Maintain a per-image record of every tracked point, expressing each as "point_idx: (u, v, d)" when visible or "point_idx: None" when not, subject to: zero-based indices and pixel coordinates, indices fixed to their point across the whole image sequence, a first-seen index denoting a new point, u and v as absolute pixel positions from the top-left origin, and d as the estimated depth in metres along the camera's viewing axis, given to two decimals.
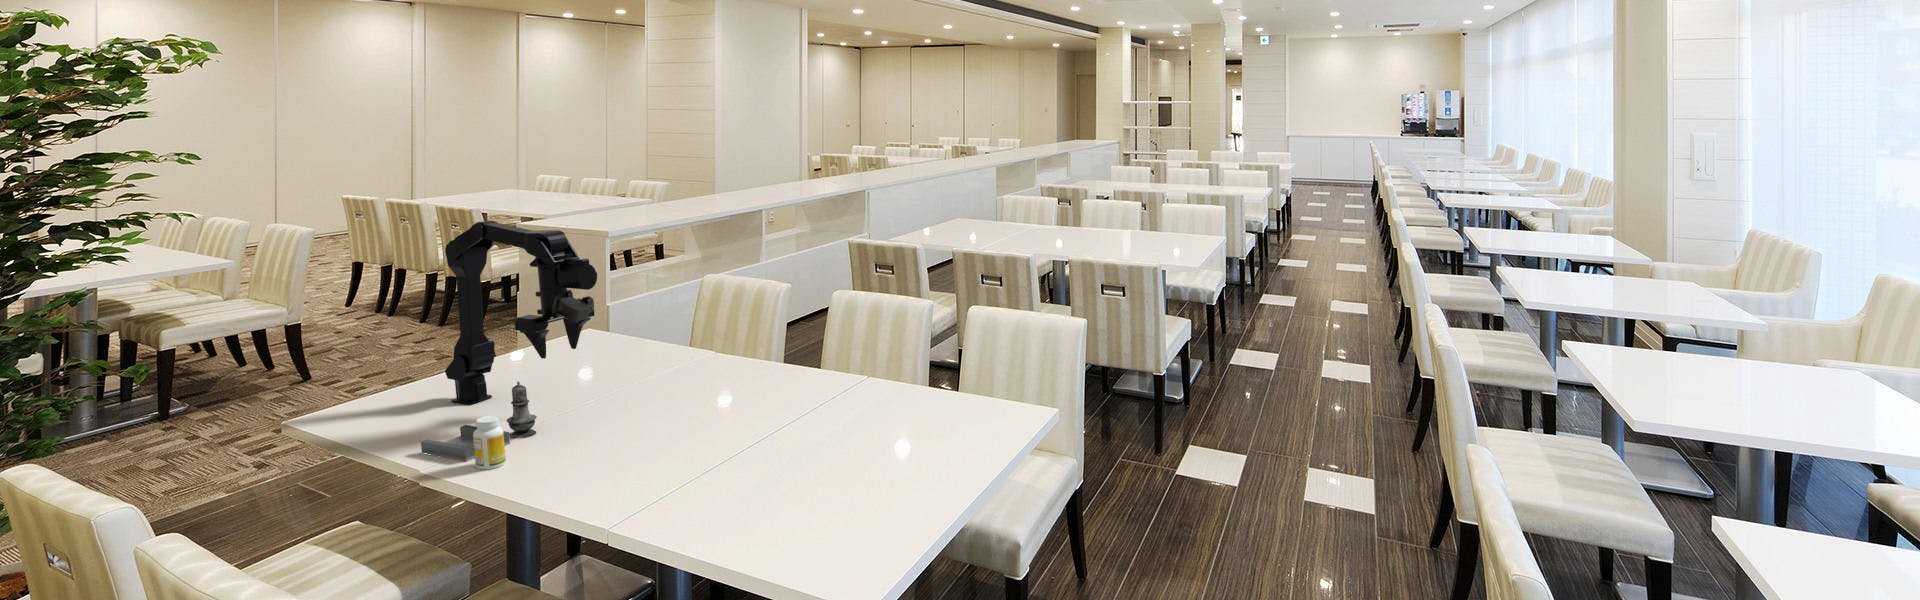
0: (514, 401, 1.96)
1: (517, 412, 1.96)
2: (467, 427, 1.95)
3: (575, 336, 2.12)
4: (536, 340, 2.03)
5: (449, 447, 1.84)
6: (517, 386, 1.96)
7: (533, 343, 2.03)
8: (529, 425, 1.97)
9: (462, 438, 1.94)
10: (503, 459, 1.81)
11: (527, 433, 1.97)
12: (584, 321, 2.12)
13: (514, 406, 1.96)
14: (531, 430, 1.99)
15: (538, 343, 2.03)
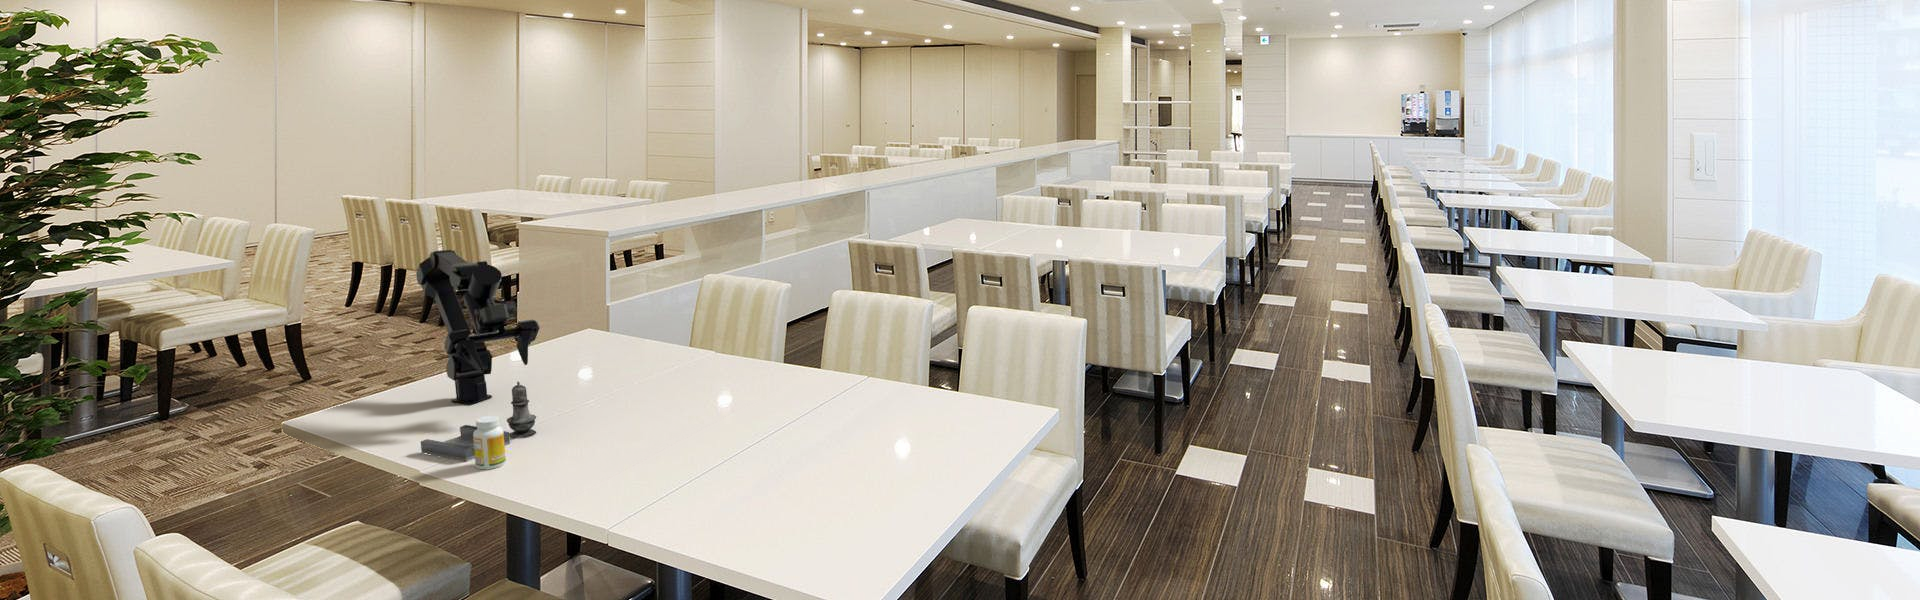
0: (514, 401, 1.96)
1: (517, 412, 1.96)
2: (467, 427, 1.95)
3: (522, 351, 2.05)
4: (470, 357, 1.99)
5: (449, 447, 1.84)
6: (517, 386, 1.96)
7: (470, 362, 1.99)
8: (529, 425, 1.97)
9: (462, 438, 1.94)
10: (503, 459, 1.81)
11: (527, 433, 1.97)
12: (525, 332, 2.06)
13: (514, 406, 1.96)
14: (531, 430, 1.99)
15: (471, 358, 1.99)
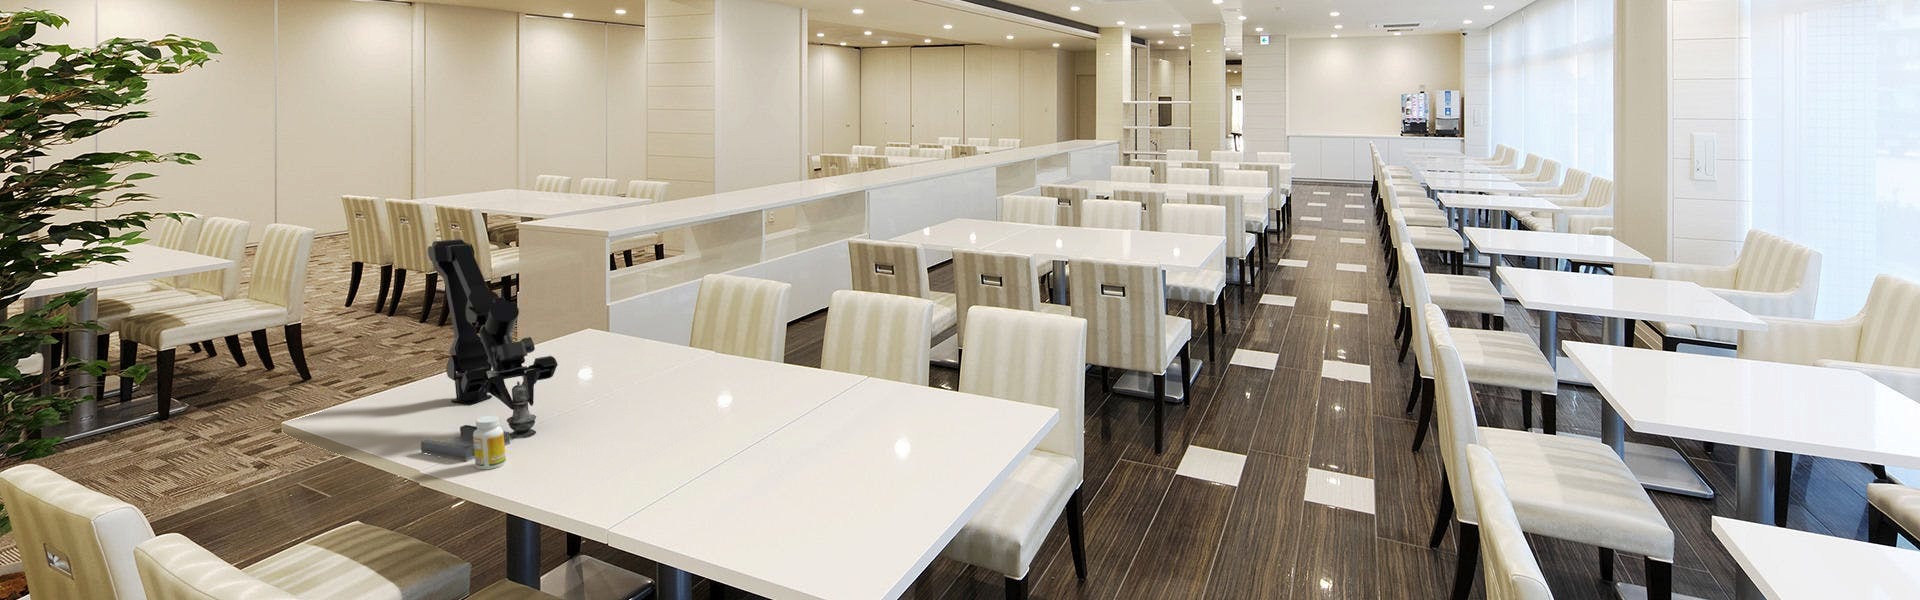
0: (514, 401, 1.96)
1: (517, 412, 1.96)
2: (467, 427, 1.95)
3: (528, 391, 1.98)
4: (500, 393, 1.96)
5: (449, 447, 1.84)
6: (517, 386, 1.96)
7: (500, 398, 1.96)
8: (529, 425, 1.97)
9: (462, 438, 1.94)
10: (503, 459, 1.81)
11: (527, 433, 1.97)
12: (530, 372, 1.99)
13: (514, 406, 1.96)
14: (531, 430, 1.99)
15: (501, 394, 1.95)
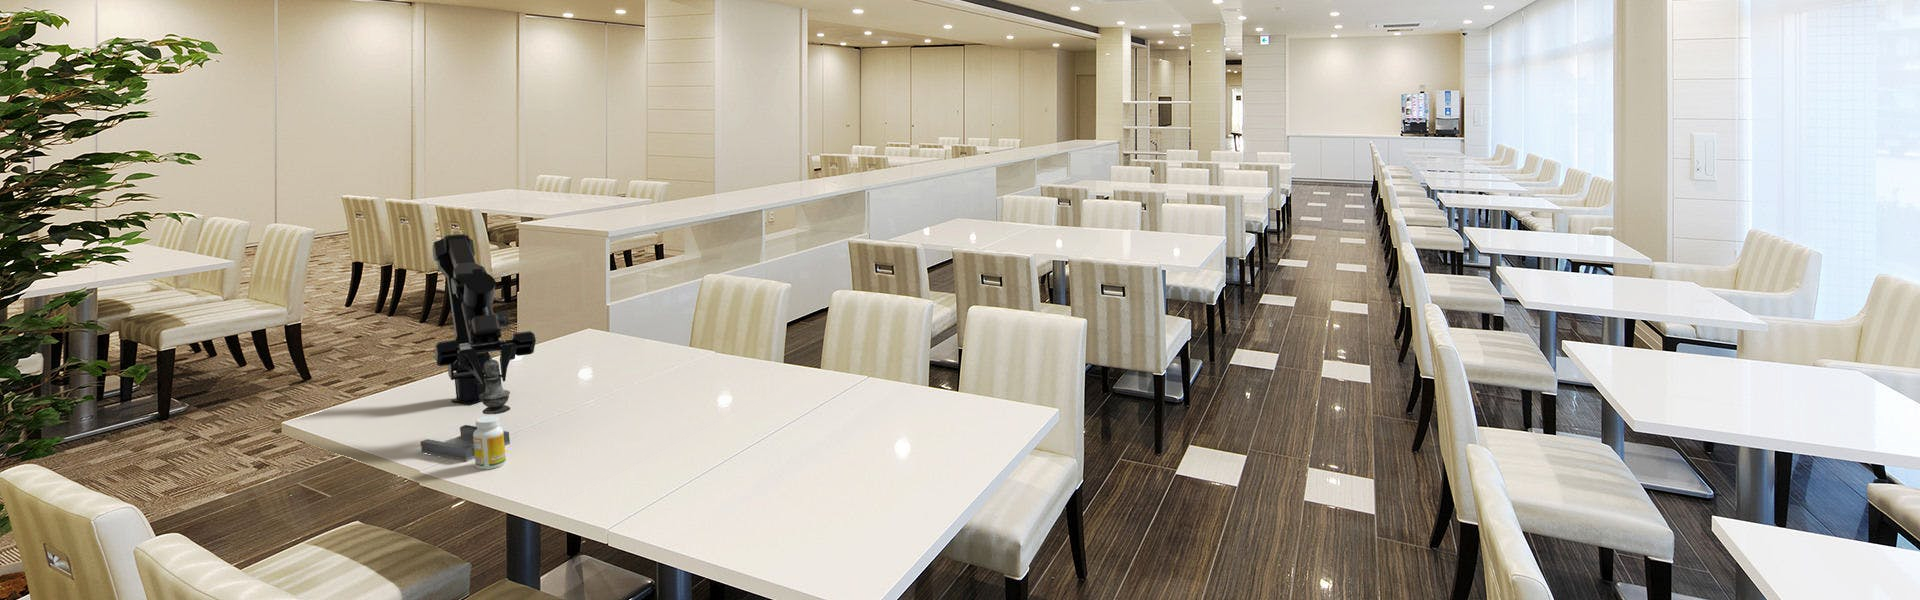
0: (486, 376, 1.90)
1: (489, 387, 1.90)
2: (467, 427, 1.95)
3: (501, 366, 1.92)
4: (473, 367, 1.91)
5: (449, 447, 1.84)
6: (489, 361, 1.90)
7: (473, 372, 1.91)
8: (500, 401, 1.91)
9: (462, 438, 1.94)
10: (503, 459, 1.81)
11: (499, 409, 1.92)
12: (505, 346, 1.93)
13: (486, 381, 1.90)
14: (505, 406, 1.94)
15: (474, 368, 1.90)
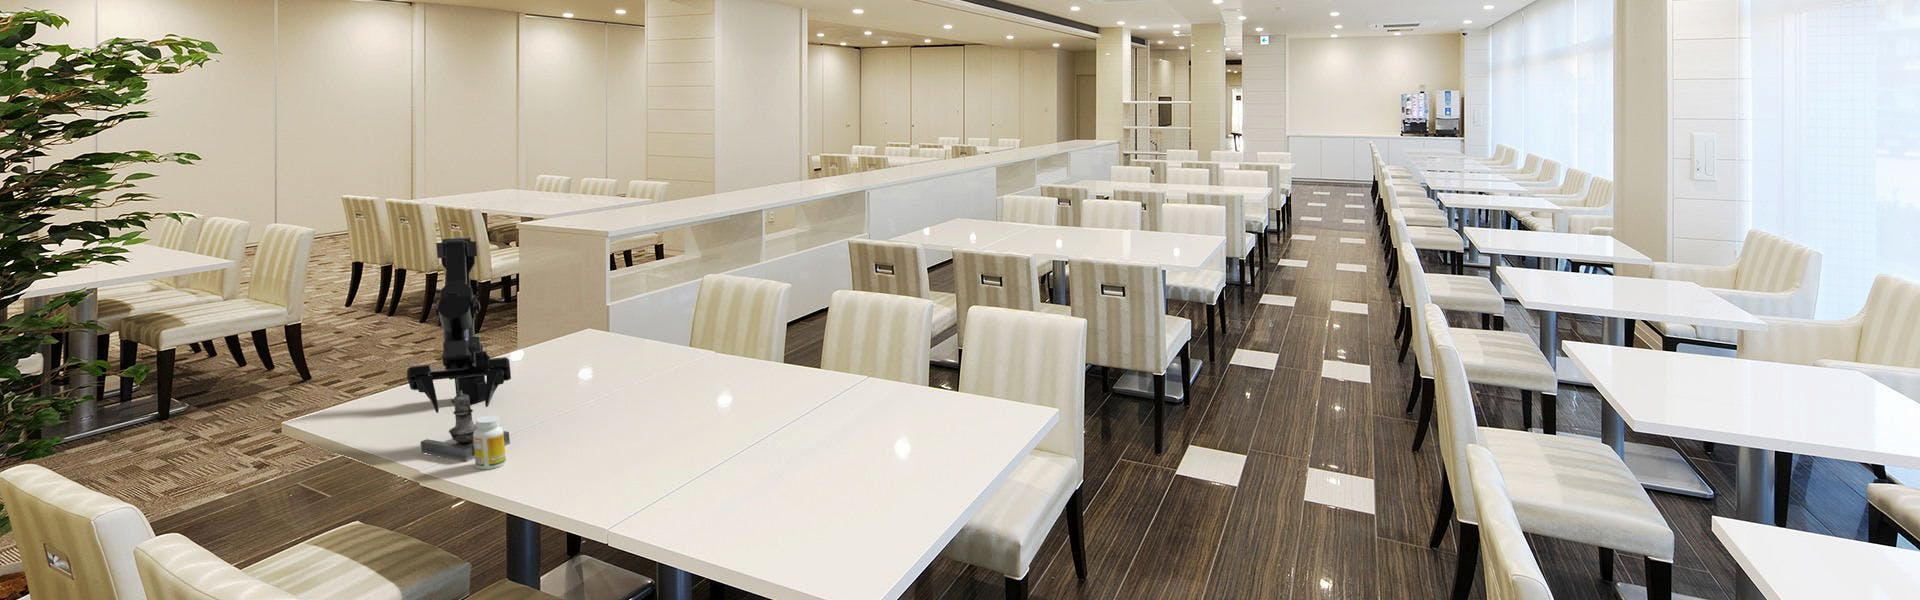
0: (455, 410, 1.87)
1: (458, 422, 1.87)
2: None
3: (485, 391, 1.89)
4: None
5: (449, 447, 1.84)
6: (459, 395, 1.87)
7: (430, 399, 1.87)
8: (468, 436, 1.87)
9: None
10: (503, 459, 1.81)
11: (468, 445, 1.88)
12: (490, 371, 1.90)
13: (455, 416, 1.87)
14: None
15: None
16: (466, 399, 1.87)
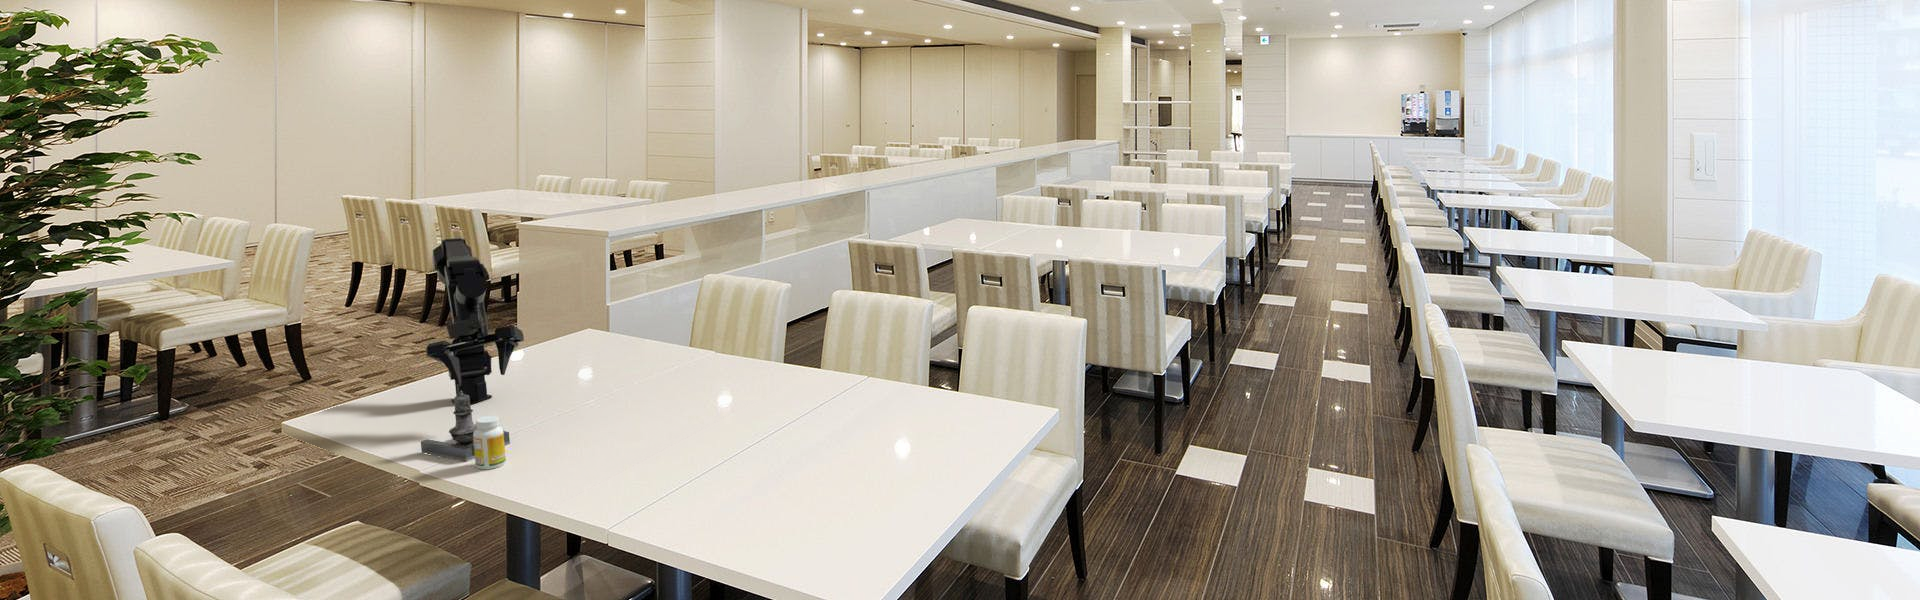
0: (455, 410, 1.87)
1: (458, 422, 1.87)
2: None
3: None
4: None
5: (449, 447, 1.84)
6: (459, 395, 1.87)
7: None
8: (468, 437, 1.87)
9: None
10: (503, 459, 1.81)
11: (468, 445, 1.88)
12: (498, 342, 1.99)
13: (455, 416, 1.87)
14: None
15: None
16: (466, 399, 1.87)
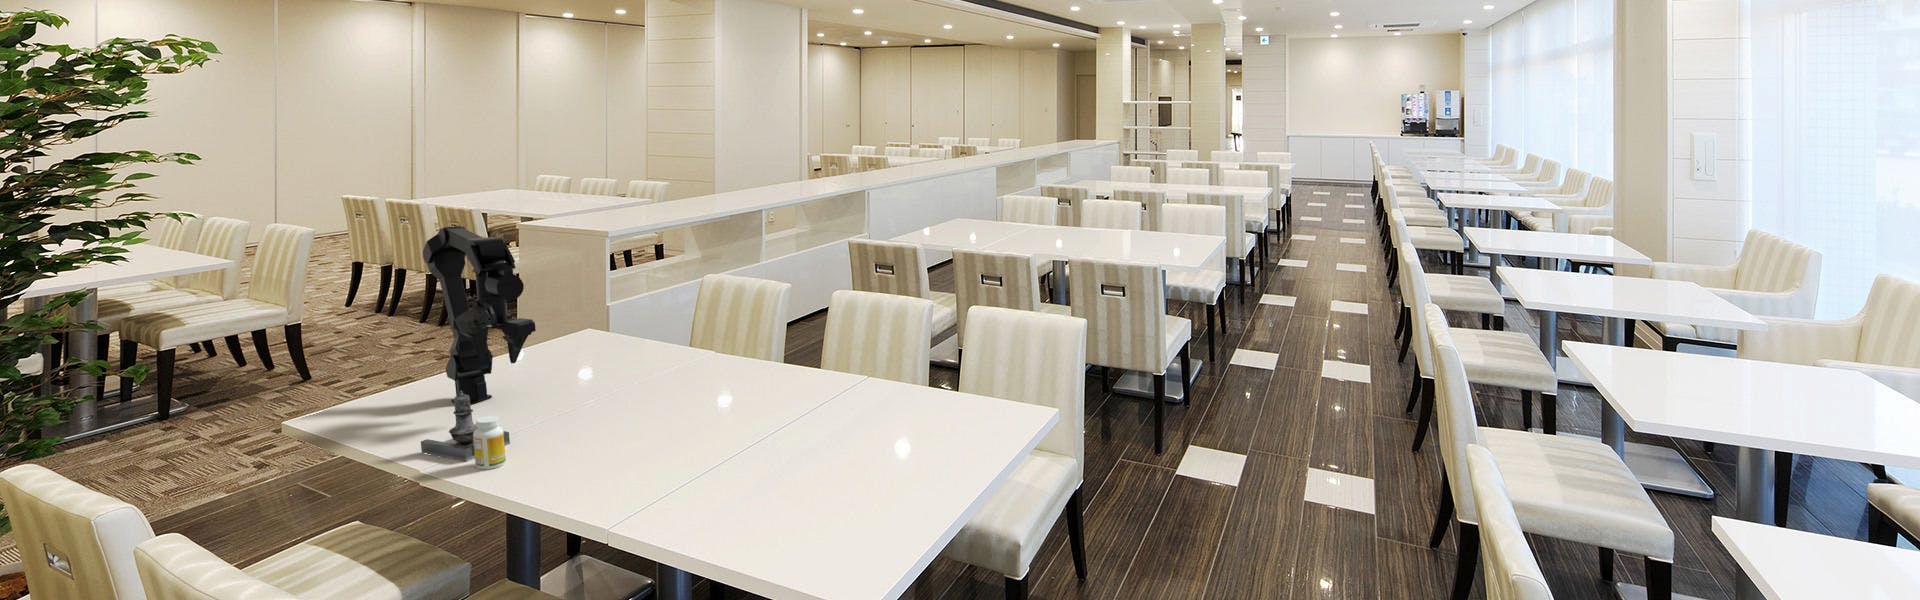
0: (455, 410, 1.87)
1: (458, 422, 1.87)
2: None
3: None
4: None
5: (449, 447, 1.84)
6: (459, 395, 1.87)
7: None
8: (468, 436, 1.87)
9: None
10: (503, 459, 1.81)
11: (468, 445, 1.88)
12: (505, 338, 2.02)
13: (455, 416, 1.87)
14: None
15: None
16: (466, 399, 1.87)
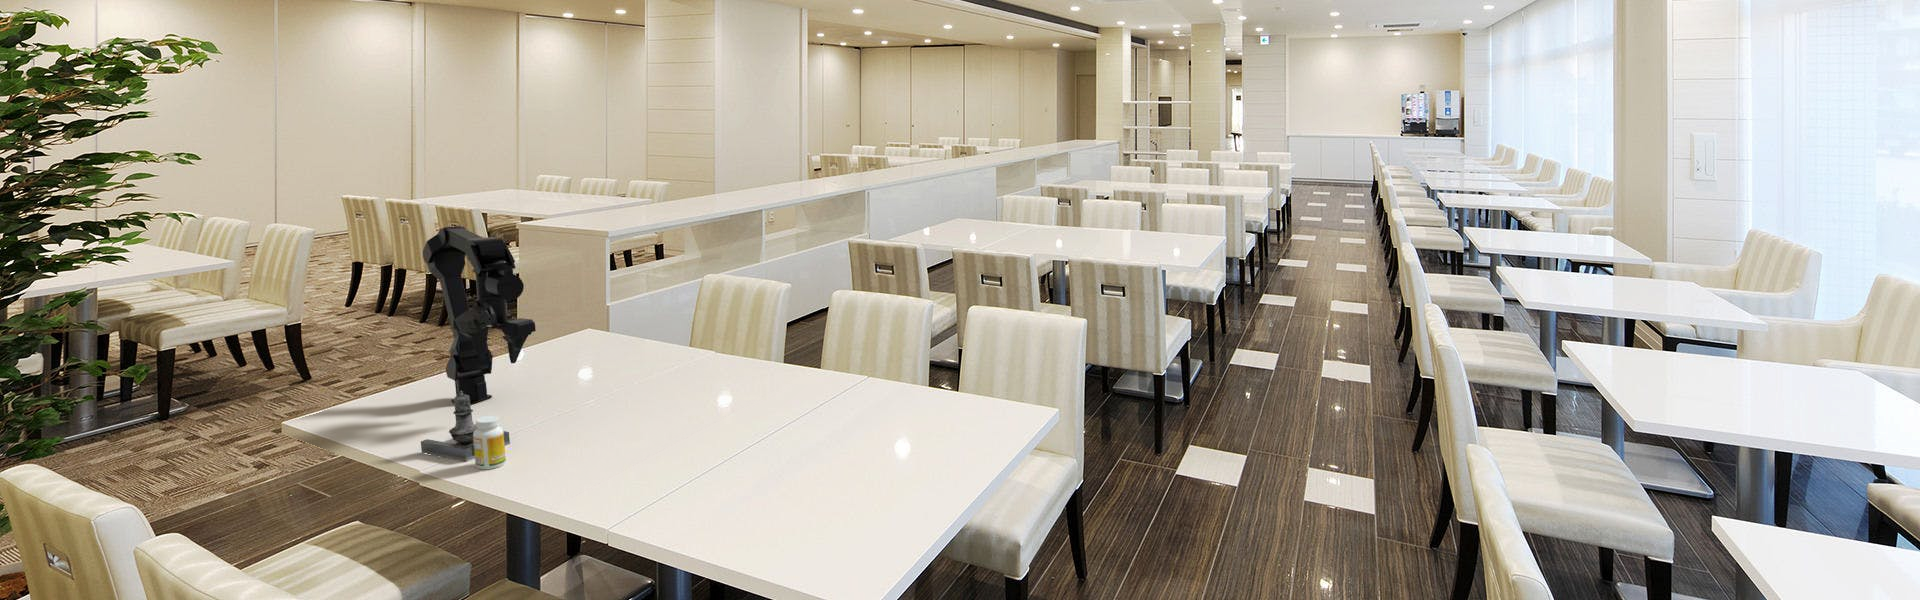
0: (455, 410, 1.87)
1: (458, 422, 1.87)
2: None
3: None
4: None
5: (449, 447, 1.84)
6: (459, 395, 1.87)
7: None
8: (468, 437, 1.87)
9: None
10: (503, 459, 1.81)
11: (468, 445, 1.88)
12: (505, 338, 2.02)
13: (455, 416, 1.87)
14: None
15: None
16: (466, 399, 1.87)
